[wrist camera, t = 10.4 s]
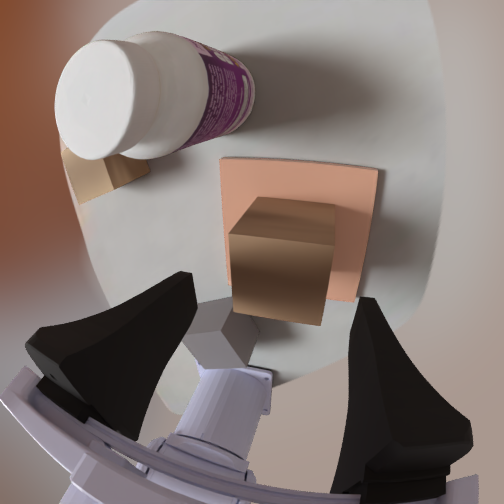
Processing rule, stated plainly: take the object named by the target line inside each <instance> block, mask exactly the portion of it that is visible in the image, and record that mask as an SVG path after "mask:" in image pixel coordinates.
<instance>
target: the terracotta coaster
mask: <svg viewBox="0 0 504 504" xmlns="http://www.w3.org/2000/svg"><path fill="white" fill-rule="evenodd" d="M219 162H220V179H221V195H222V210H223V224H224V238H225V251H226V263H227V275H228V285H231V286H232V284H231V269H230V254H229V237H228V233H229V232H230V231H231V229H232V228H233V227H234V226H235V224H236V223H237V222H238V220H239V219H240V218H241V217H242V215H243V214H244V213H245V212H246V210H247V209H248V208H249V207H250V205H251V204H252V203H253V202H254V200H255V199H256V198H257V197H269V198H280V199H291V200H301V201H310V202H319V203H328V204H335V248H334V255H333V261H332V268H331V274H330V279H329V285H328V291H327V296H326V299H330V300H338V301H346V302H354V301H355V297H356V293H357V289H358V285H359V281H360V276H361V272H362V267H363V263H364V258H365V253H366V248H367V243H368V237H369V232H370V226H371V220H372V214H373V207H374V200H375V193H376V186H377V177H378V170H377V169H376V168H369V167H361V166H353V165H345V164H336V163H326V162H315V161H303V160H288V159H269V158H237V157H223V158H221V159H219Z"/></svg>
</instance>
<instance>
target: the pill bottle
mask: <svg viewBox="0 0 504 504" xmlns="http://www.w3.org/2000/svg"><path fill="white" fill-rule="evenodd" d="M254 100H255V84H254V81H253V78H252V76H251V74H250V72H249V70H248V69H247V68H246V67H245V65H244V64H243V63H241V62H240V61H239V60H237V59H236V58H234V57H232V56H230V55H228V54H226V53H224V52H221V51H219V50H217V49H214V48H212V47H209V46H207V45H204V44H202V43H199V42H196V41H193V40H191V39H188V38H185V37H182V36H179V35H176V34H173V33H167V32H160V31H152V32H145V33H141V34H137V35H135V36H132V37H130V38H128V39H126V40H125V41H118V40H97V41H94V42H91V43H89V44H87V45H85V46H84V47H82V48H81V49H79V50H78V51H77V52H76V53H75V54H74V55H73V56H72V57H71V59H70V60H69V62H68V63H67V64H66V66H65V68H64V70H63V72H62V74H61V77H60V80H59V83H58V86H57V91H56V98H55V117H56V122H57V126H58V130H59V132H60V135H61V137H62V139H63V141H64V143H65V144H66V146H67V147H68V148H69V149H70V150H71V151H72V152H73V153H74V154H76V155H77V156H79V157H81V158H84V159H87V160H96V159H102V158H106V157H108V156H111V155H114V154H118V153H120V154H122V155H124V156H127V157H130V158H134V159H153V158H157V157H162V156H165V155H168V154H170V153H173V152H176V151H178V150H181V149H184V148H186V147H189V146H192V145H195V144H198V143H201V142H204V141H207V140H210V139H214V138H217V137H220V136H223V135H226V134H228V133H230V132H232V131H234V130H235V129H237V128H238V127H239V126H240V125H241V124H242V123H243V122H244V121H245V120H246V119H247V117H248V116H249V115H250V113H251V110H252V108H253V104H254Z"/></svg>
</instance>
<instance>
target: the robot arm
mask: <svg viewBox="0 0 504 504" xmlns="http://www.w3.org/2000/svg"><path fill="white" fill-rule="evenodd" d="M197 310H198V305H197V299H196V294H195V288H194V282H193V276H192V273H188V272H182V271H179V272H177V273H175V274H173V275H172V276H170V277H168V278H166V279H165V280H163V281H161V282H160V283H158V284H156V285H155V286H153V287H151V288H149V289H148V290H146V291H144V292H143V293H141V294H139V295H137V296H135V297H133V298H131V299H129V300H128V301H126V302H124V303H122V304H120V305H118V306H116V307H113V308H111V309H109V310H106V311H104V312H101V313H99V314H96V315H93V316H90V317H87V318H84V319H81V320H77V321H74V322H69V323H65V324H60V325H54V326H47V327H41V328H39V329H38V330H37V331H36V333H35V334H34V335H33V336H32V337H31V338H30V339H29V340H28V341H27V342H26V343H25V348H26V350H27V352H28V354H29V355H30V357H31V358H32V360H33V361H34V362H35V364H36V365H37V366H38V368H39V369H40V370H41V372H42V373H43V374H44V377H43V378H42V379H41V378H40V377H39V376H38V375H36V374H35V373H34V372H33V371H32V370H31V369H29V368H28V367H27V366H24V367H23V368H22V369H21V371H20V372H19V373H18V374H17V375H16V377H15V378H14V379H13V380H12V381H11V383H10V384H9V385H8V386H7V388H6V389H5V390H4V391H3V393H2V394H1V395H0V401H1V402H2V403H3V404H4V406H5V407H6V408H7V409H8V410H9V411H10V413H11V414H12V415H13V416H14V417H15V418H16V420H17V421H18V422H19V423H20V424H21V425H22V426H23V427H24V429H25V430H26V431H27V432H28V433H29V434H30V435H31V436H32V437H33V438H34V440H35V441H36V442H37V443H38V444H39V445H40V446H41V447H42V448H43V449H44V450H45V451H46V452H47V453H48V454H49V455H51V456H52V457H53V458H54V459H55V460H56V461H57V462H58V463H59V464H60V465H61V466H63V467H64V468H65V469H66V470H67V471H69V472H70V473H71V475H70V480H71V484H70V486H69V488H68V489H67V491H66V492H65V494H64V496H63V498H62V499H61V501H60V503H59V504H251V502H254V503H259V504H478V494H479V491H478V490H479V488H478V487H479V486H478V485H479V484H478V475H477V474H475V475H472V476H468V477H464V478H460V479H455V480H452V481H449V482H446V476H447V475H449V474H450V465H451V464H453V463H454V462H456V461H457V460H459V459H460V458H462V457H463V456H464V455H466V454H467V453H468V452H469V451H470V450H471V449H472V447H473V435H472V428H471V423H470V420H468V419H467V418H466V417H465V416H463V415H462V414H461V413H460V412H459V411H457V410H456V409H455V408H454V407H452V406H451V405H450V404H449V403H448V402H447V401H446V400H445V399H444V398H443V397H442V396H441V395H440V394H439V393H438V392H437V391H436V390H435V389H434V388H433V387H432V386H431V385H430V384H429V382H428V381H427V380H426V379H425V378H424V377H423V375H422V374H421V373H420V372H419V371H418V369H417V368H416V367H415V365H414V364H413V363H412V361H411V360H410V358H409V357H408V356H407V354H406V353H405V351H404V349H403V348H402V346H401V345H400V343H399V341H398V340H397V338H396V336H395V335H394V333H393V331H392V329H391V328H390V326H389V324H388V322H387V320H386V319H385V317H384V315H383V313H382V311H381V309H380V307H379V305H378V303H377V301H376V300H375V298H370V297H361V296H360V299H359V302H358V306H357V310H356V313H355V317H354V320H353V324H352V327H351V331H350V339H349V351H348V364H349V365H348V366H349V400H348V413H347V419H346V426H345V432H344V437H343V443H342V448H341V452H340V457H339V462H338V465H337V469H336V473H335V477H334V481H333V484H332V487H331V490H330V494H327V493H315V492H305V491H297V490H290V489H283V488H277V487H271V486H266V485H260V484H256V477H255V476H254V473H253V471H252V470H248V469H247V468H248V465H249V462H248V461H246V459H247V456H248V453H249V450H250V446H251V444H252V441H253V438H254V435H255V432H256V429H257V426H258V422H259V419H260V416H261V414H263V415H269V414H270V407H271V393H272V378H273V374H272V372H271V371H268V370H263V369H258V368H253V367H248V366H247V368H233V369H204V368H203V367H202V366H201V364H200V363H199V362H198V361H197V360H196V358H195V361H196V365H197V368H198V372H199V375H200V379H201V380H200V382H199V384H198V386H197V388H196V390H195V392H194V394H193V396H192V398H191V400H190V402H189V404H188V406H187V408H186V410H185V412H184V414H183V416H182V418H181V420H180V422H179V424H178V425H177V427H176V430H175V432H174V433H170V434H169V436H168V437H167V439H166V438H164V437H159V438H157V439H154V440H152V441H151V442H150V443H149V444H148V446H147V447H145V446H143V445H141V444H139V443H137V442H135V441H137V440H138V437H139V433H140V430H141V427H142V423H143V420H144V417H145V414H146V411H147V408H148V406H149V403H150V400H151V398H152V395H153V393H154V391H155V388H156V386H157V383H158V381H159V379H160V377H161V375H162V373H163V370H164V369H165V367H166V365H167V363H168V361H169V360H170V358H171V357H172V355H173V353H174V352H175V350H176V349H177V347H178V345H179V344H180V342H181V341H182V339H183V337H184V336H185V334H186V332H187V331H188V329H189V327H190V326H191V323H192V321H193V319H194V317H195V314H196V312H197ZM110 447H111V448H112V449H114V450H116V451H118V452H120V453H122V454H123V455H125V456H127V457H129V458H131V459H133V460H135V461H137V462H138V463H137V465H136V467H135V466H134V465H132V464H131V463H129V462H128V461H127V460H126V459H125V458H123V457H122V456H120V455H118V454H117V453H115V452H114V451H112V450H111V448H110Z"/></svg>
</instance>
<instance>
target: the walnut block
mask: <svg viewBox="0 0 504 504" xmlns="http://www.w3.org/2000/svg"><path fill="white" fill-rule="evenodd" d="M228 237H229V254H230V269H231V284H232V299H233V312H237V313H242V314H247V315H253V316H259V317H265V318H270V319H277V320H283V321H289V322H296V323H302V324H309V325H316V326H321V321H322V316H323V312H324V306H325V301H326V296H327V291H328V285H329V279H330V274H331V268H332V261H333V255H334V248H335V204H328V203H319V202H310V201H301V200H291V199H280V198H269V197H257V198H256V199H255V200H254V202H253V203H252V204H251V205H250V207H249V208H248V209H247V210H246V212H245V213H244V214H243V215H242V217H241V218H240V219H239V220H238V222H237V223H236V224H235V226H234V227H233V228H232V229H231V231H230V232H229V233H228Z"/></svg>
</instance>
